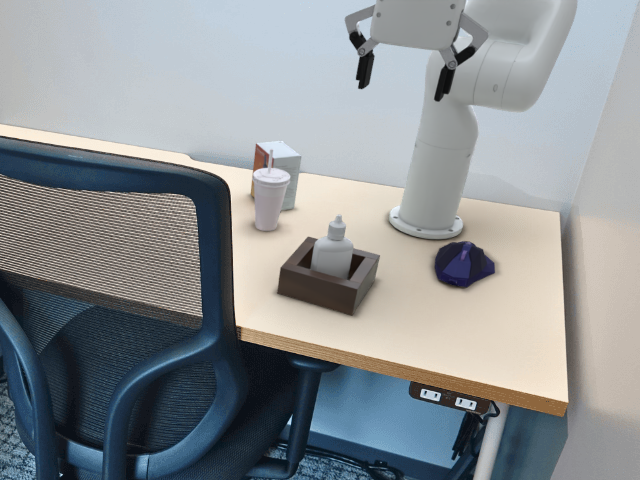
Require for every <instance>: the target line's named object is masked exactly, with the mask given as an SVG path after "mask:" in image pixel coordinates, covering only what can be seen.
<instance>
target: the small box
mask: <svg viewBox="0 0 640 480" xmlns="http://www.w3.org/2000/svg"><path fill="white" fill-rule="evenodd" d="M270 149H273V156H272V165H271V168H276V169H280V170H283V171H286V172H287V173H288V174H289V175H290V183H289V184H288V185H287V188H286V192H285V196H284V200H283V204H282V207H281V211H286V210H292V209H295V204H296V198H297V197H296V196H297V191H298V190H297V189H298V185H299V184H298V183H299V178H300V169H301V163H302V155H301V154H300V153H299V152H297V151H295V150H294V149H293V148H292V147H291V146H289V145H288V144H286V142H285V141H284V140H274V141H264V142H256V143H255V147H254V156H253V157H254V158H253V166H252V167H253V168H252V176H251V184H250V185H251V186H250V196H251V197H253V198H254V199H255V195H254V182H253V180H252V178H253V173H254V172H255V171H256V170H258V169H262V168H268V162H269V153H270Z"/></svg>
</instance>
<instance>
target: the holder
mask: <svg viewBox="0 0 640 480" xmlns="http://www.w3.org/2000/svg"><path fill="white" fill-rule="evenodd" d="M318 239H319V238H315V237H312V236H306V238H305V239H304V240H303V241H302V243H301V244H300V245H299V246H298V247H297V248H296V249H295V251H294V252H293V253H292V254H291V255H290V256H289V257H288V258H287V260H286V261H285V262H284V263H282V265H281V266H280V269H279V275H278V276H279V277H278V282H277V283H278V284H277V291H276V293H277V294H278V295H282V296H285V297H288V298H292V299H296V300H298V301H301V302H305V303H308V304H311V305H315V306H318V307H321V308H325V309H329V310H331V311H335V312H338V313H342V314H346V315H348V316H352V317H353V315H354V314H355V312H356V311H357V309H358V307H359V306H360V304H361V302H362V301H363V299H364V298H365V296H366V295H367V293H368V291H369V290H370V288H371V287H372V285H373V283H374V282H375V280H376V276H377V271H378V268H379V262H380V258H381V255H380V254H378V253H375V252H370V251H366V250H362V249H358V248H354V247H353V254H352V259H351V265H350V270H349V275H348V280H346V279H342V278H339V277H335V276H332V275H328V274H324V273H321V272H317V271H314V270H310V268H311V262H312V255H313V250H314V244H315V242H316V241H317V240H318Z"/></svg>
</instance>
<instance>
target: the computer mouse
mask: <svg viewBox="0 0 640 480" xmlns="http://www.w3.org/2000/svg"><path fill="white" fill-rule="evenodd" d="M495 263H496V262H495V261H493V260H492V259H491V258H490V257H488V255H486V254H485V250H484V249H483V248H481V247H479V246H477V245H476V244H475V243H474V242H471V241H466V240H460V241H451V242H449V243H447V244H445V245H443V246H440V247H439V248H438V252H437V253H436V255H435V257H434V272H435V276H436V279H438V280H439V281H441V282H443V283H446V284H447V285H450V286H454V287H460V288H468V287H470V286H471V285H473V284H474V283H477V282H478V281H480V280H483V279H485V278H488V277H489V276H491V275H494V274H496V265H495Z"/></svg>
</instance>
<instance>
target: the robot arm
mask: <svg viewBox="0 0 640 480" xmlns="http://www.w3.org/2000/svg"><path fill="white" fill-rule="evenodd" d="M578 2H579V0H376V1H375V3H374V4H372V5H369V6H367V7H365V8H362V9H359V10H358V11H354V12H352V13H350V14H348V15H346V16H345V17H344V24H345V27H346V30H347V33H348V40H349V41H350V43H351V44H352V46H353V48H354V49H355V51H356V53H357V56H358V57H359V58H358V63H357V68H356V74H355V81H357V82H358V85H357V89H358V90H364V89H365V88H367V87H368V86H369V85H370V84H371V83H370V82H371V78H372V72H373V67H374V62H375V57H376V56H375V53H374V49H375V48H376V47H377V46H378V45H380V44H383V45H390V46H397V47H404V48H412V49H420V50H427V51H430V53H429V55H428V58H427V62H426V65H425V75H424V76H425V77H424V91H423V92H424V94H423V103H422V110H421V115H420V119H419V123H418V128H417V133H416V136H415V138H416V139H415V141H414V146H413V150H412V154H411V160H410V163H409V168H408V172H407V176H406V180H405V185H404V189H403V193H402V198H401V202H400V204H399V205H396V206H394V207H392V208H391V209H390V211H389V214H388V221H389V223H390V224H391V225H392V226H393V227H394V228H395V229H397V230H398V231H399V232H402V233H404V234H407V235H409V236H413V237H417V238H420V239H428V240H446V239H451V238H454V237H457V236H458V235H460V234H461V233H462V231H463V228H464V221H463V219H462V218H461V217H460V216H459V215H458V211H459V207H460V204H461V201H462V196H463V193H464V190H465V186H466V182H467V180H468V176H469V172H470V169H471V165H472V161H473V158H474V154H475V151H476V148H477V147H476V146H477V145H478V141H479V136H480V123H479V118H478V116H477V113H476V111H475V109H474V106H478V107H483V108H487V109H492V110H497V111H502V112H503V111H504V112H509V113H515V114H516V113H524V112H527V111H529V110H530V109H531V108H532V107H534V106H535V105H536V103H537V101H538V100H539V98H540V97H541V95H542V93H543V92H544V89H545V87H546V85H547V82H548V81H549V78H550V75H551V74H552V71H553V69H554V67H555V64H556V63H557V60H558V58H559V56H560V55H561V51H562V49H563V47H564V45H565V43H566V41H567V38H568V36H569V34H570V31H571V29H572V26H573V24H574V21H575V17H576V14H577V9H578ZM371 17H372V18H371ZM369 18H371V22H370V29H369V36H370V37H369V38H368V39H366V37H365V35H364V34H363V33H362V31H361V29H360V22H361V21H362V22H363V21H364V20H367V19H369ZM461 30H462V32H463V33H464V34H465V35H467V36H465V35H464V36H460V32H461Z"/></svg>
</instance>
